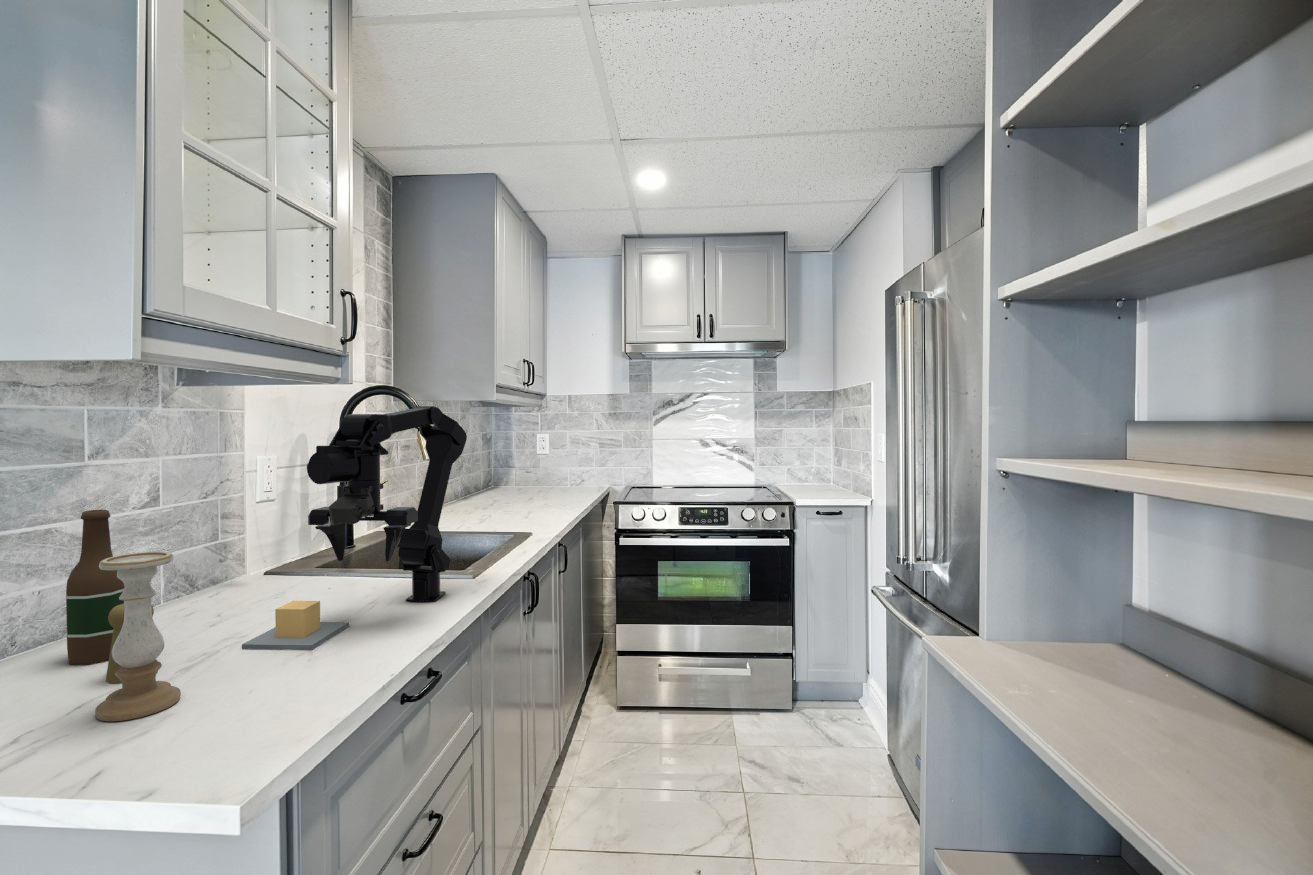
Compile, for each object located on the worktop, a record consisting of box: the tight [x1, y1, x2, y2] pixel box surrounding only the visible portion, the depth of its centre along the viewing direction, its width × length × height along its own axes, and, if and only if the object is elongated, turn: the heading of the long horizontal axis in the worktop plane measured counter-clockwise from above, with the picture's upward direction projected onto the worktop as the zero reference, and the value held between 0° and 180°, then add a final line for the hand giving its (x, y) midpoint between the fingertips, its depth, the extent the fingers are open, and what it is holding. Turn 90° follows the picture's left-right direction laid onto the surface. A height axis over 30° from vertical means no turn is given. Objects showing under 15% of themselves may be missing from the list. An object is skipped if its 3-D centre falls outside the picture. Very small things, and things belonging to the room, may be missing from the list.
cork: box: [105, 604, 155, 685], centre depth 92 cm, size 6×6×11 cm
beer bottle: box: [65, 509, 125, 666], centre depth 99 cm, size 8×8×24 cm
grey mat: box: [241, 621, 350, 651], centre depth 109 cm, size 12×12×1 cm
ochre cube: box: [274, 600, 321, 638], centre depth 109 cm, size 5×5×5 cm
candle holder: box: [94, 551, 182, 722], centre depth 82 cm, size 9×9×20 cm
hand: (364, 560), depth 116 cm, fingers open, 9 cm apart
